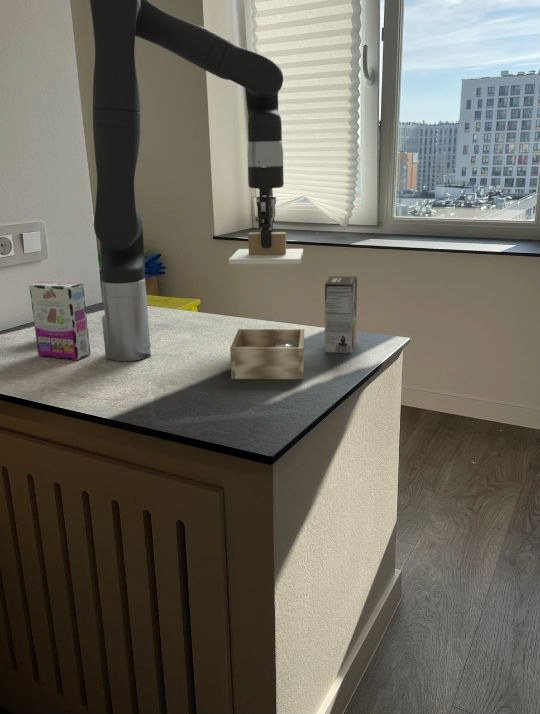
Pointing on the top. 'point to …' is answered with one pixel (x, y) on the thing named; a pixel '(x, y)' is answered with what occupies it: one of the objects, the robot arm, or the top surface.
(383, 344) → the top surface
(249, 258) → the lid
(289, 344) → the silver metal ball
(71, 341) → the candy bar box
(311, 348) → the top surface
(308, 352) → the top surface
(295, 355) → the birch box
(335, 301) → the coffee box
